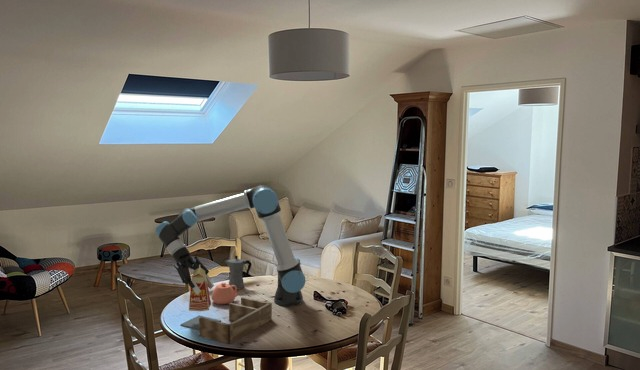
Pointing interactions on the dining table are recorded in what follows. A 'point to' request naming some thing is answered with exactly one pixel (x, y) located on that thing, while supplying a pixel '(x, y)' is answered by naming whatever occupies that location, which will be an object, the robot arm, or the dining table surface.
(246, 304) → the lane rack
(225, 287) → the sugar bowl
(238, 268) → the coffeepot
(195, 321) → the mat
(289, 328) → the dining table surface
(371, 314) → the dining table surface
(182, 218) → the robot arm
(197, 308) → the milk carton
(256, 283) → the dining table surface
